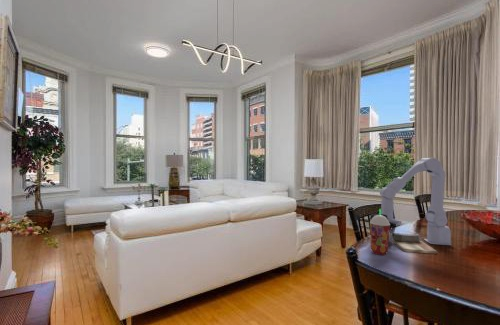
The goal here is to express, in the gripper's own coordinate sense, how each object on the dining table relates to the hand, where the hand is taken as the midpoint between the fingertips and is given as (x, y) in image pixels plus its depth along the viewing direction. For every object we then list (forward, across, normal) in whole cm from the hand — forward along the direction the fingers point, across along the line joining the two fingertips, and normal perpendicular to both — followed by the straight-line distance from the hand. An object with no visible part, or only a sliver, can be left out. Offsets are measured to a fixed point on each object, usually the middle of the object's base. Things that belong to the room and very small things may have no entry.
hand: (386, 235), depth 143 cm
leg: (0, +9, +2) cm, 10 cm away
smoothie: (+2, +12, -23) cm, 26 cm away
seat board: (+2, +14, 0) cm, 14 cm away
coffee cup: (+2, +4, -13) cm, 14 cm away
